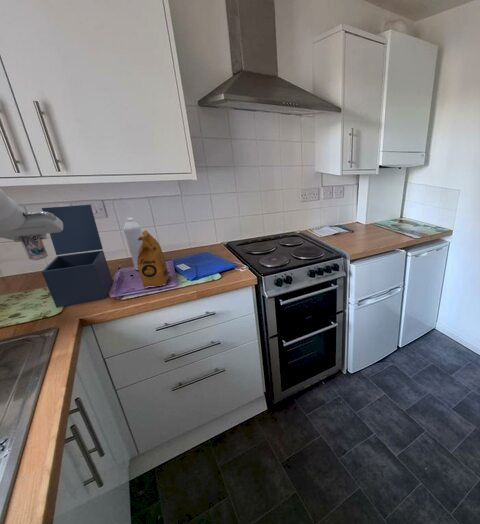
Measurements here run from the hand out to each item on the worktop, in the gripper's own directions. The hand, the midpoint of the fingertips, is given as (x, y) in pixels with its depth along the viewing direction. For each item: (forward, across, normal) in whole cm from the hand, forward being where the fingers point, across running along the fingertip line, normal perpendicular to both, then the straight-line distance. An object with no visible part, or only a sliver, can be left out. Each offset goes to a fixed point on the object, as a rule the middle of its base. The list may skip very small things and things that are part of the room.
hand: (31, 238), depth 96 cm
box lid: (+19, -3, -14) cm, 24 cm away
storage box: (+29, -4, +10) cm, 31 cm away
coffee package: (+29, -28, +10) cm, 41 cm away
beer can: (+4, 0, +5) cm, 7 cm away
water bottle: (+43, -21, -4) cm, 48 cm away
